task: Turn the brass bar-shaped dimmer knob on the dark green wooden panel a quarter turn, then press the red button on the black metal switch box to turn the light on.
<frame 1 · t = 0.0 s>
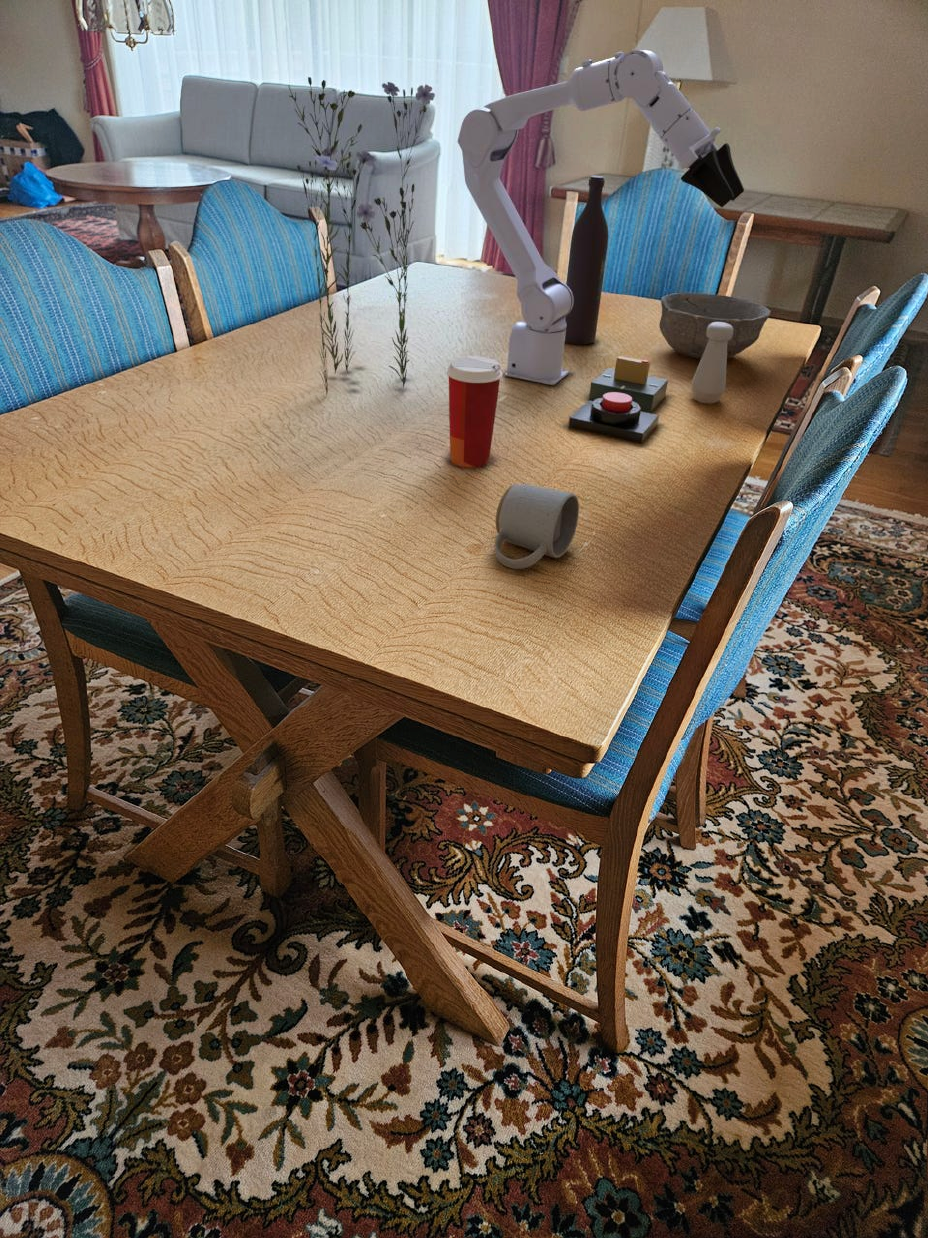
hand: (733, 198, 128), 32 cm above the table, tool tilted 50°, fingers open, 7 cm apart
dimmer knob: (631, 369, 146), point 5 cm above the table, hinge at 0.0°
light button: (616, 402, 135), point 4 cm above the table, slide at 0.1 cm
switch box: (613, 426, 138), on the table
paper cup: (469, 460, 124), on the table
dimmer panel: (627, 397, 149), on the table
wine bottle: (577, 341, 176), on the table
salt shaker: (705, 400, 150), on the table
ceramic mug: (530, 552, 103), on the table
bowl: (704, 357, 171), on the table
wildflower: (366, 384, 149), on the table
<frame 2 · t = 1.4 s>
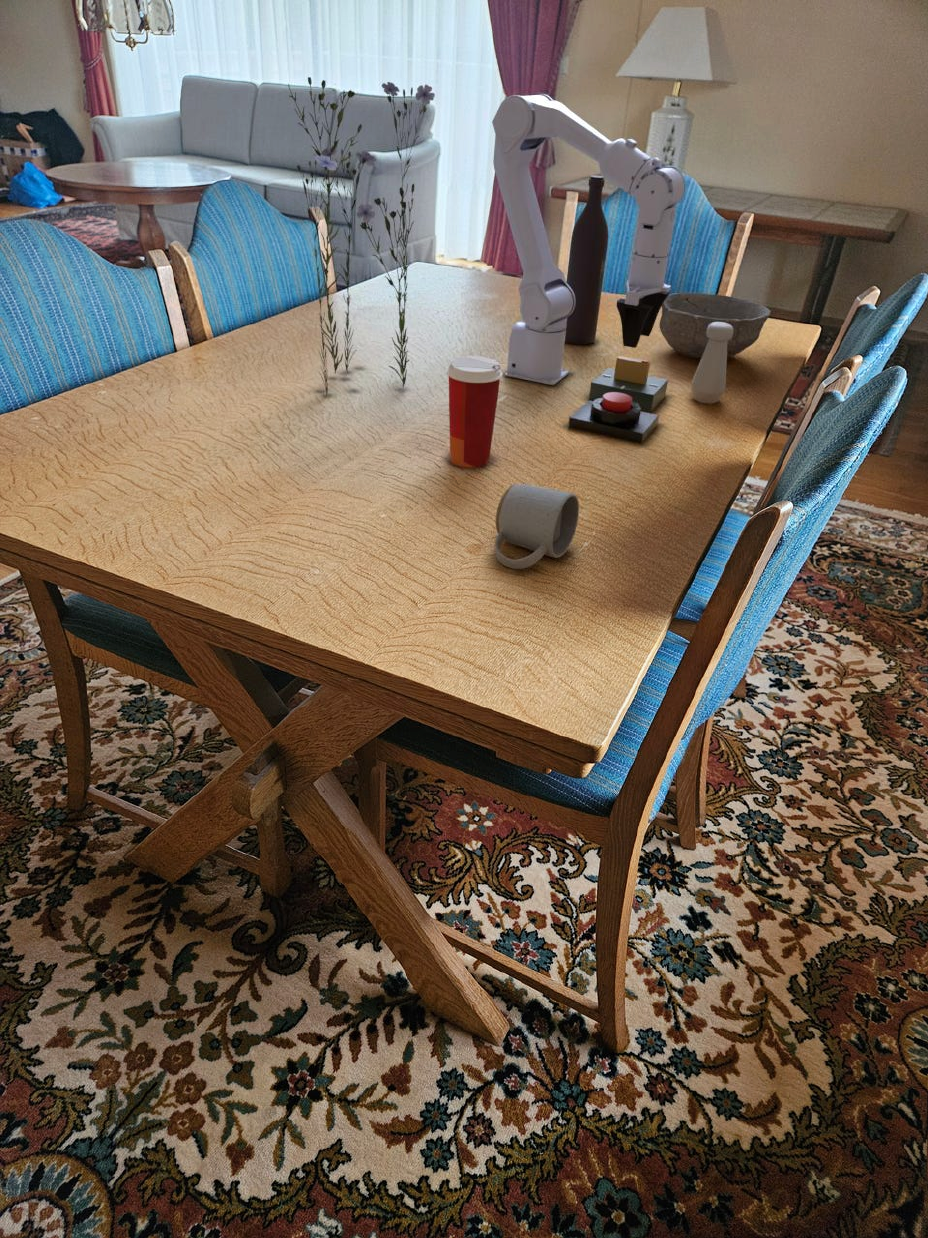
hand: (636, 340, 143), 10 cm above the table, tool pointing down, fingers open, 7 cm apart
nothing on the table moved.
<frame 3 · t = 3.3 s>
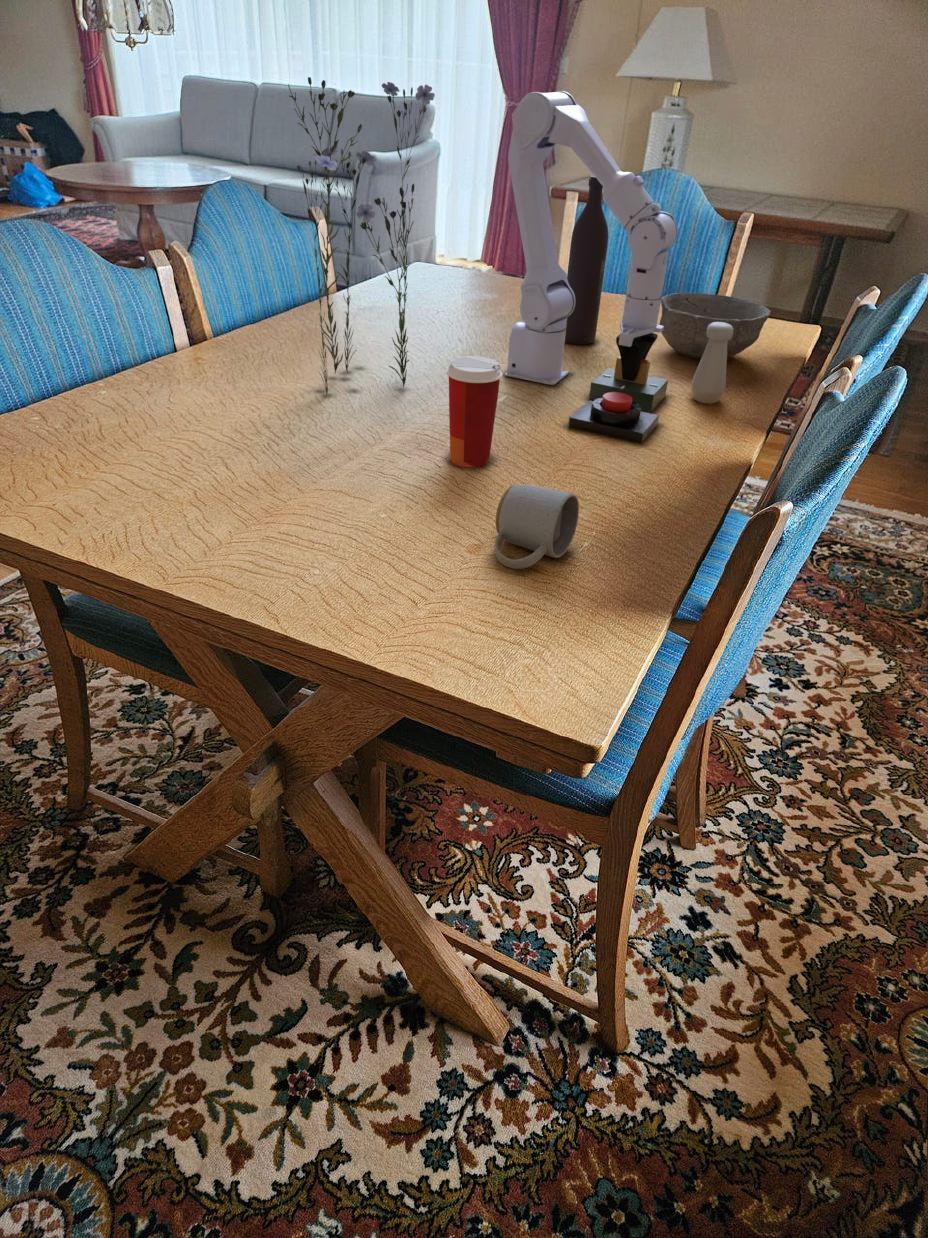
hand: (630, 377, 147), 4 cm above the table, tool pointing down, fingers closed on dimmer knob
dimmer knob: (631, 369, 146), point 5 cm above the table, hinge at 0.0°, touching gripper
everything else where it was.
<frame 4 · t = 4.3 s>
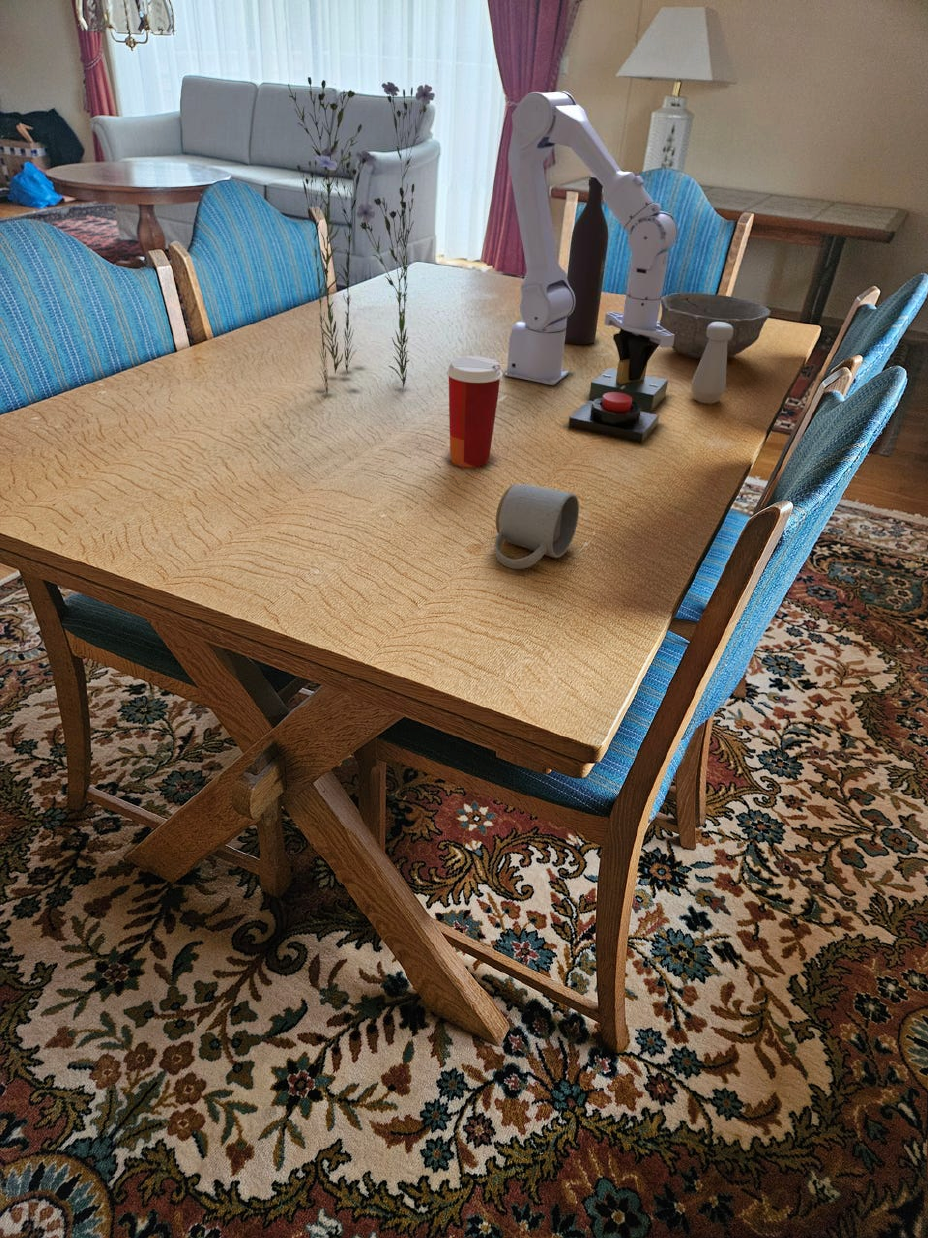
hand: (630, 378, 147), 4 cm above the table, tool pointing down, fingers closed on dimmer knob
dimmer knob: (631, 369, 146), point 5 cm above the table, hinge at 60.0°, touching gripper
everything else where it was.
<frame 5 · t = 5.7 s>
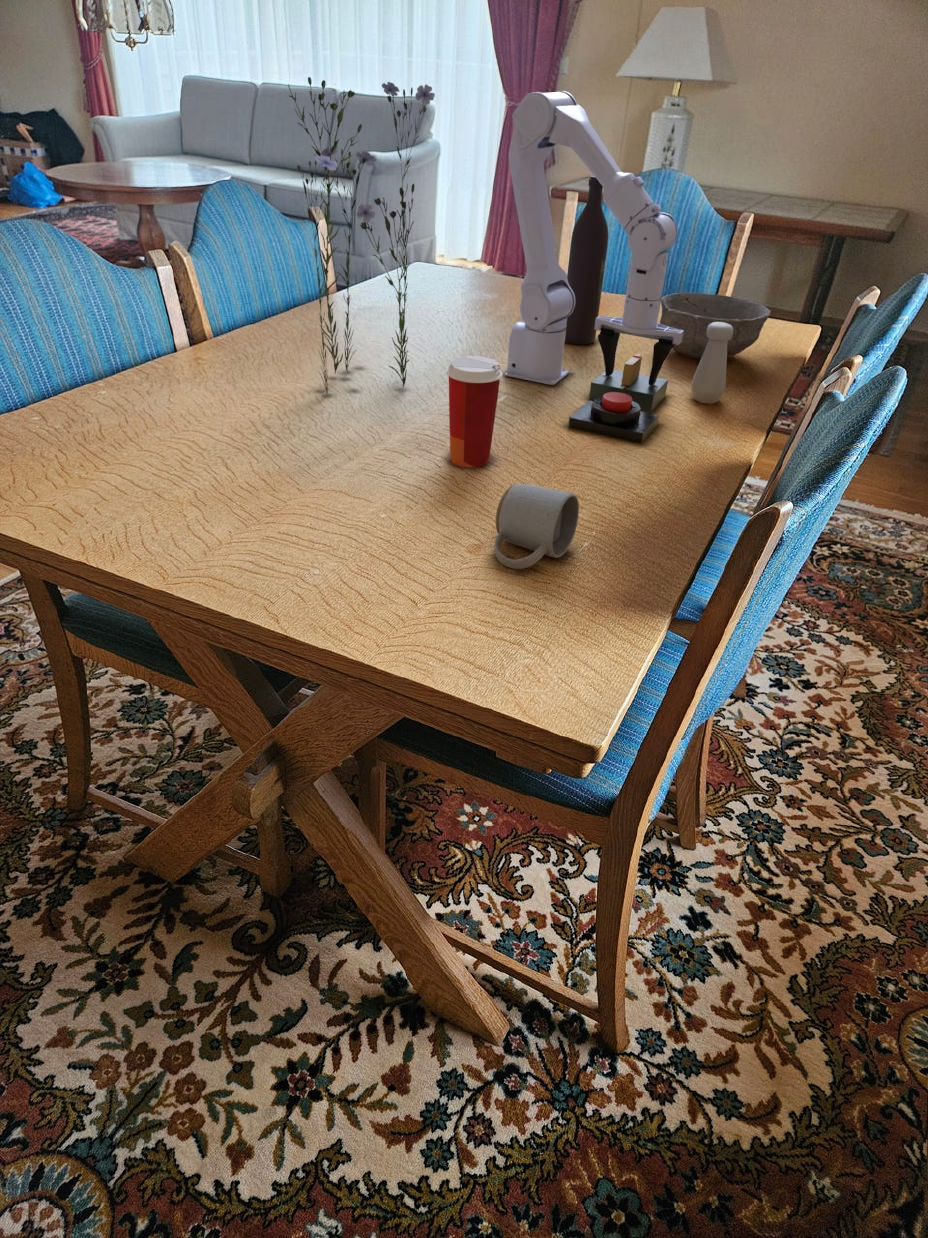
hand: (630, 378, 147), 3 cm above the table, tool pointing down, fingers open, 7 cm apart
dimmer knob: (631, 369, 146), point 5 cm above the table, hinge at 89.5°
everything else where it was.
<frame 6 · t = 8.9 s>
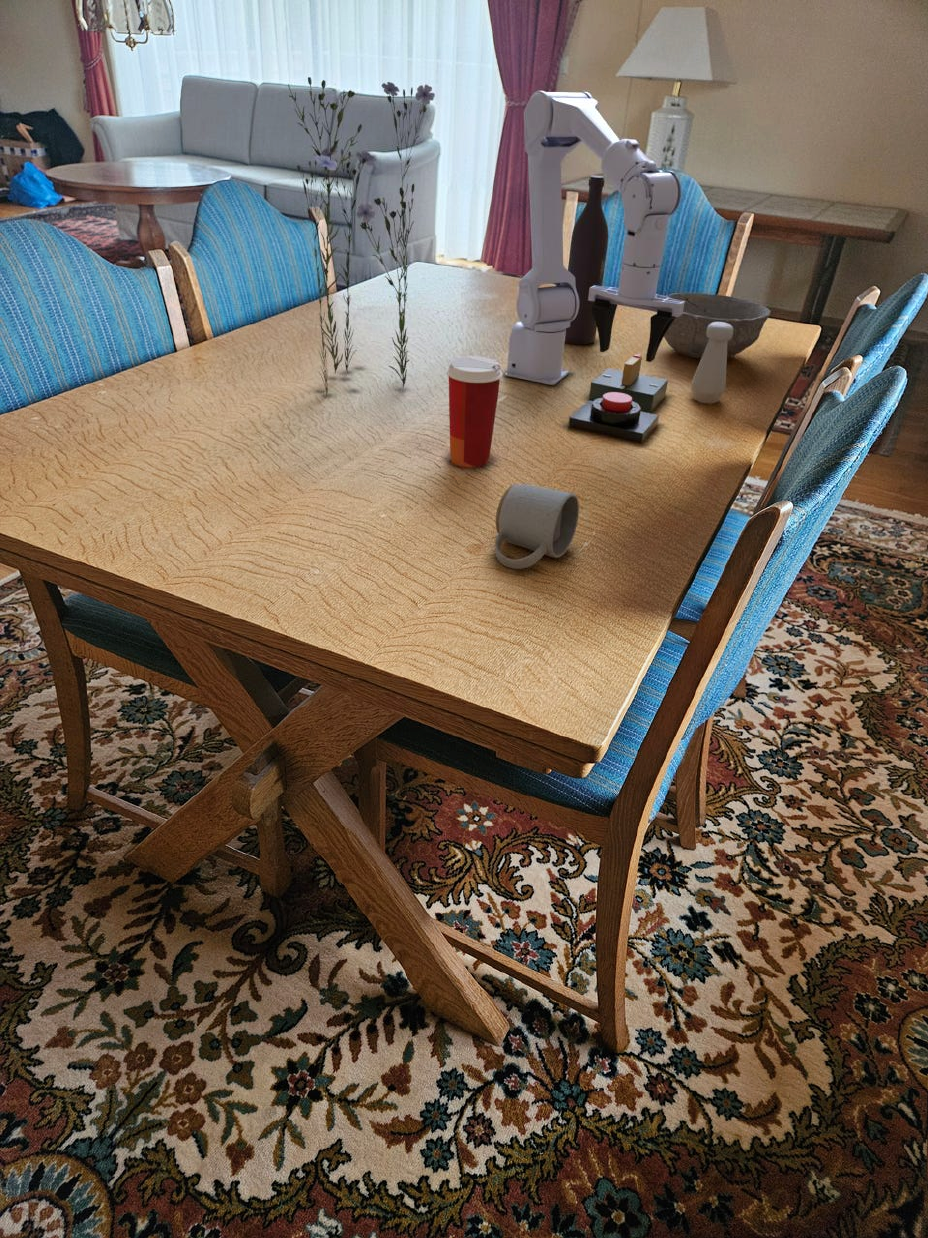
hand: (626, 355, 134), 10 cm above the table, tool pointing down, fingers open, 7 cm apart
nothing on the table moved.
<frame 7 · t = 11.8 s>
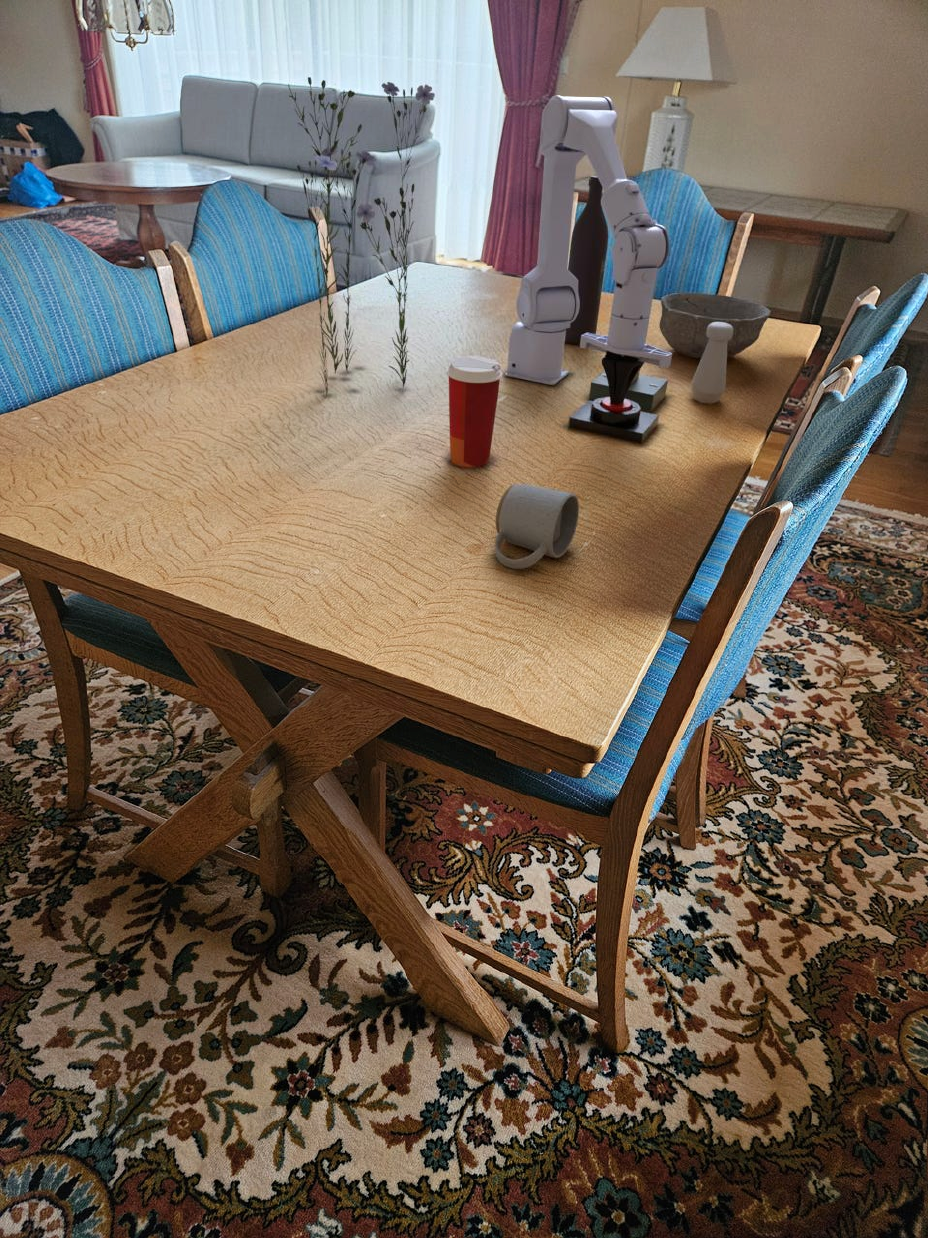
hand: (616, 402, 135), 4 cm above the table, tool pointing down, fingers closed, pressing on light button
light button: (616, 407, 136), point 3 cm above the table, slide at -0.8 cm, touching gripper
everything else where it was.
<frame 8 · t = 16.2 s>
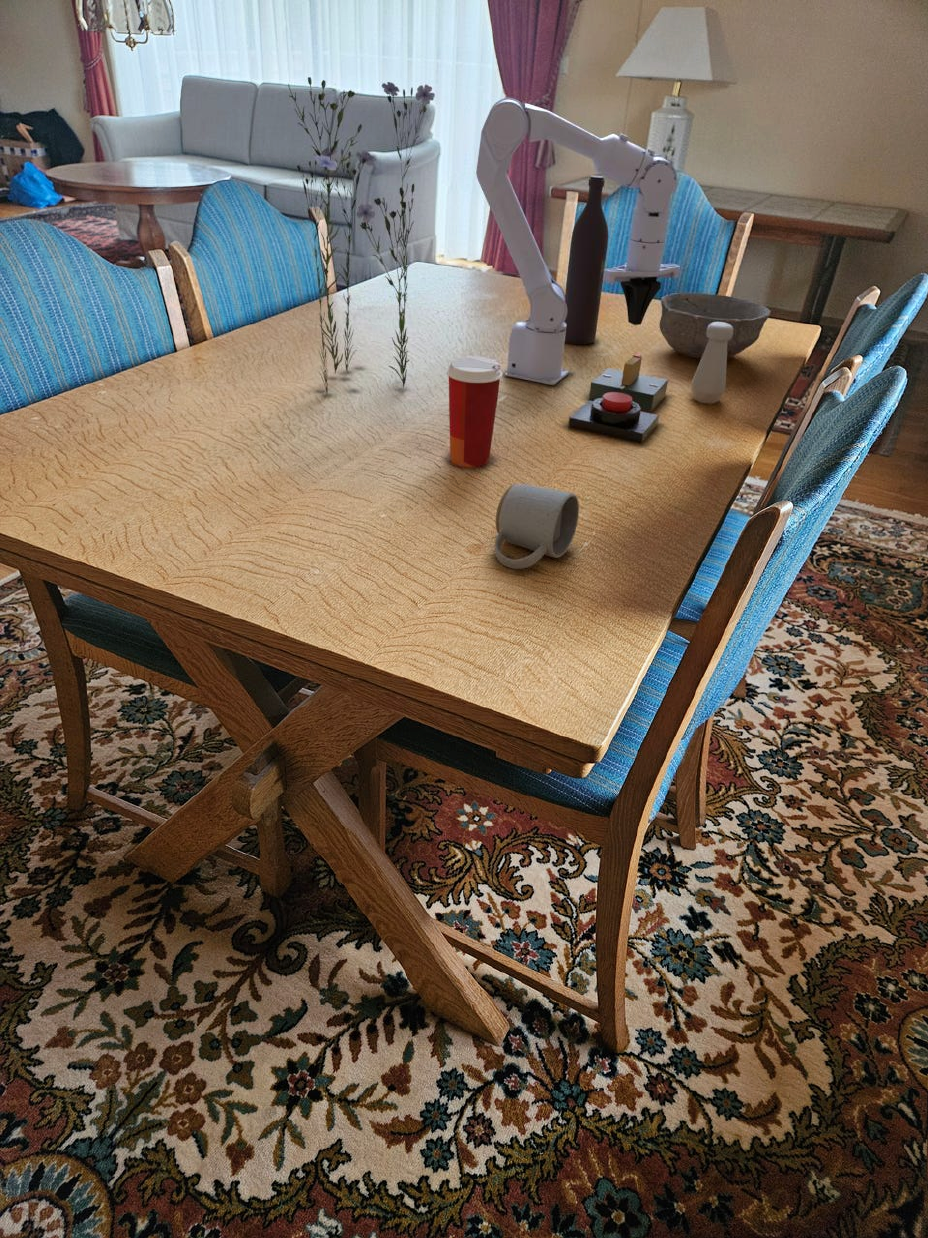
hand: (634, 323, 150), 10 cm above the table, tool pointing down, fingers closed
light button: (616, 402, 135), point 4 cm above the table, slide at 0.1 cm
everything else where it was.
at the end: dimmer knob at +90° (first picture: +0°); light button pushed in 1.2 cm at the most during the clip, back to where it started at the end; light button slide at 0.1 cm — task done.
